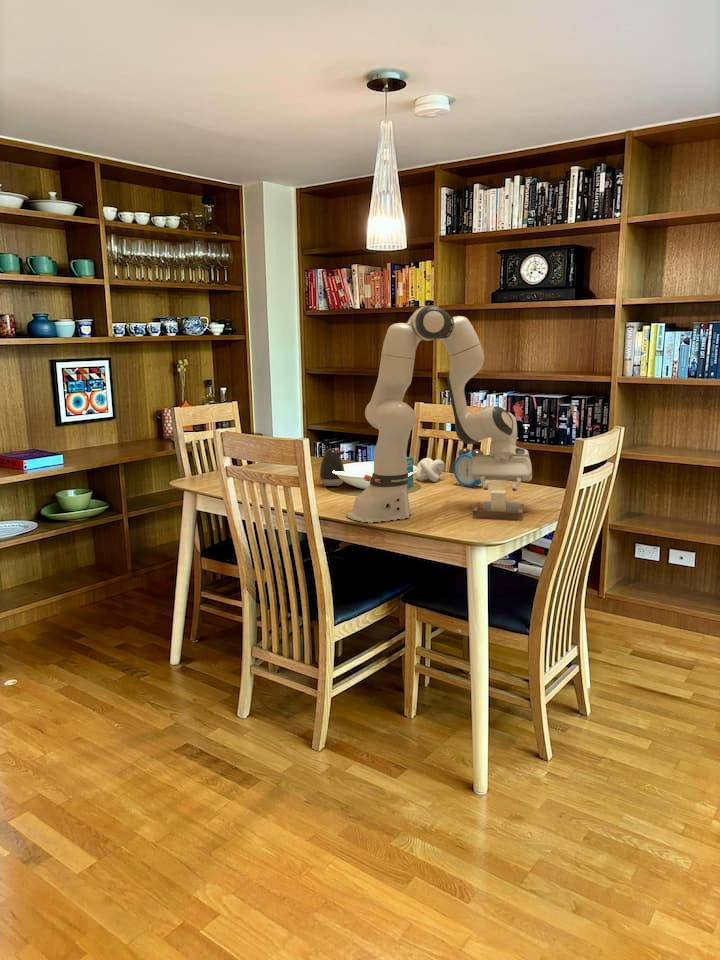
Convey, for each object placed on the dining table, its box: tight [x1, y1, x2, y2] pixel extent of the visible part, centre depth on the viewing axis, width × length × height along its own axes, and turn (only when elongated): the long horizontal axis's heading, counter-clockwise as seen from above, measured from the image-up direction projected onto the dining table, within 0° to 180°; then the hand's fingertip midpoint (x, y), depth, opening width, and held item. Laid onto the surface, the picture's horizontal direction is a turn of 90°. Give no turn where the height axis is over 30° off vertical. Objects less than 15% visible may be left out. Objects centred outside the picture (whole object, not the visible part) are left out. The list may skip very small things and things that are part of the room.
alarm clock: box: [452, 447, 485, 488], centre depth 293 cm, size 13×6×15 cm, turn 44°
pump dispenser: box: [319, 448, 345, 487], centre depth 298 cm, size 10×10×15 cm
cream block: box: [490, 489, 507, 511], centre depth 240 cm, size 4×4×8 cm
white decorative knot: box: [415, 457, 445, 483], centre depth 304 cm, size 11×12×9 cm
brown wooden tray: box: [472, 502, 525, 522], centre depth 242 cm, size 12×15×4 cm
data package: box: [407, 456, 414, 489], centre depth 291 cm, size 12×4×12 cm, turn 147°
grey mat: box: [481, 500, 521, 512], centre depth 254 cm, size 12×12×2 cm
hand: (499, 489), depth 243 cm, fingers open, 8 cm apart
